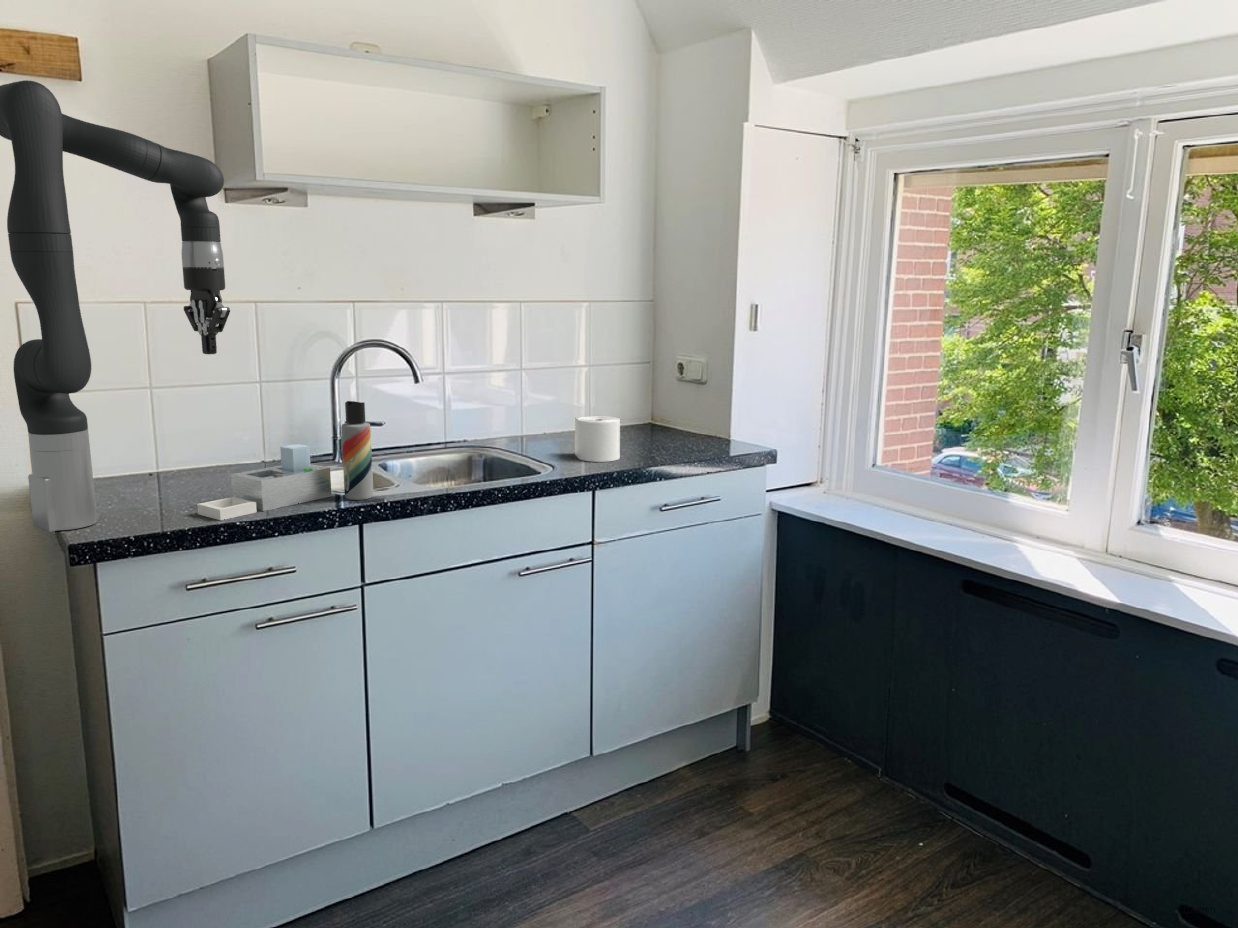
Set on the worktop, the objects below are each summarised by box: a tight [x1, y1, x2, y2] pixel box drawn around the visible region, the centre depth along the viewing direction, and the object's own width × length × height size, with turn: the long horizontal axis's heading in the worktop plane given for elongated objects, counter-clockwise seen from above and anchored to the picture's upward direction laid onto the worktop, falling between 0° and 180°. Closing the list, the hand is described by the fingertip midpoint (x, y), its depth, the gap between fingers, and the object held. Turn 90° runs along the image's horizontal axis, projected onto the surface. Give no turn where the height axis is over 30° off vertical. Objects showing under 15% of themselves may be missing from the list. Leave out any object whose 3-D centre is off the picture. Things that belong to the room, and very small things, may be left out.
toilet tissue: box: [574, 415, 621, 463], centre depth 237 cm, size 11×12×10 cm
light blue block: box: [280, 443, 311, 472], centre depth 193 cm, size 4×4×9 cm
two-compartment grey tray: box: [230, 463, 332, 512], centre depth 191 cm, size 16×10×6 cm, turn 145°
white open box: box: [196, 496, 258, 521], centre depth 180 cm, size 8×8×2 cm
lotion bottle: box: [340, 400, 374, 501], centre depth 193 cm, size 6×6×20 cm
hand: (209, 353), depth 190 cm, fingers closed
